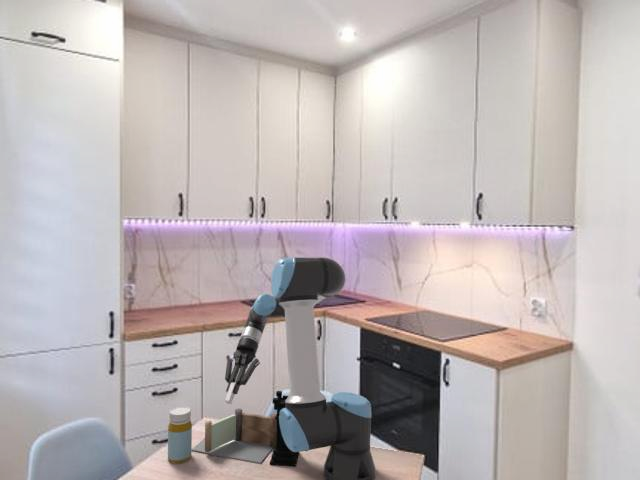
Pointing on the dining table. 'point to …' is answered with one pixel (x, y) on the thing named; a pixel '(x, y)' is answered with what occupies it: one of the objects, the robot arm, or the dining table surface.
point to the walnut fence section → (256, 428)
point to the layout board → (238, 450)
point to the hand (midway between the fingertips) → (228, 402)
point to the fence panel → (219, 432)
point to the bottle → (179, 435)
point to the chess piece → (281, 451)
